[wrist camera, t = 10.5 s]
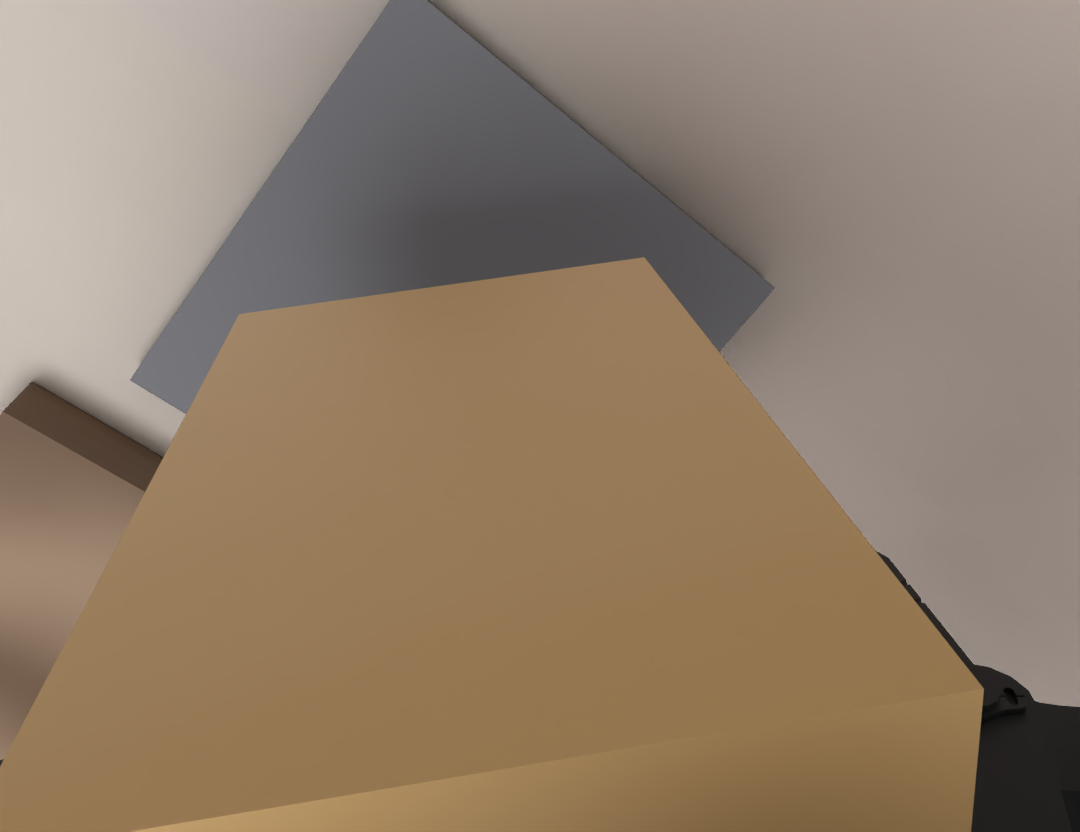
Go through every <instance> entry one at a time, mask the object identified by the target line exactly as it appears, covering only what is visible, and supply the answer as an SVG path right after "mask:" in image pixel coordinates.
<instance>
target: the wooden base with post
mask: <svg viewBox="0 0 1080 832" xmlns="http://www.w3.org/2000/svg"><path fill="white" fill-rule="evenodd" d="M162 459H163V458H162V457H160V456H159V455H157V454H155V453H154V452H152V451H150V450H148V449H147V448H145V447H143V446H141V445H140V444H138V443H136V442H135V441H133V440H131V439H129V438H128V437H126V436H124V435H123V434H121V433H119V432H117V431H116V430H114V429H112V428H110V427H109V426H107V425H105V424H104V423H102V422H100V421H98V420H97V419H95V418H93V417H92V416H90V415H88V414H86V413H85V412H83V411H81V410H79V409H78V408H76V407H74V406H73V405H71V404H69V403H67V402H66V401H64V400H62V399H61V398H59V397H57V396H55V395H54V394H52V393H50V392H48V391H47V390H45V389H43V388H42V387H40V386H38V385H36V384H35V383H33V382H31V383H30V384H29V385H28V386H27V387H26V388H25V389H24V390H23V391H22V392H21V393H20V394H19V395H18V397H17V398H16V399H15V400H14V401H13V402H12V403H11V404H10V405H9V406H8V407H7V408H6V409H5V410H4V411H3V412H2V414H1V415H0V760H3V759H4V758H5V757H6V755H7V753H8V751H9V749H10V747H11V745H12V743H13V741H14V739H15V738H16V736H17V734H18V732H19V730H20V728H21V726H22V724H23V722H24V721H25V719H26V717H27V715H28V713H29V711H30V709H31V707H32V705H33V703H34V702H35V700H36V698H37V696H38V694H39V692H40V690H41V688H42V686H43V685H44V683H45V681H46V679H47V677H48V675H49V673H50V671H51V669H52V668H53V666H54V664H55V662H56V660H57V658H58V656H59V654H60V652H61V650H62V649H63V647H64V645H65V643H66V641H67V639H68V637H69V635H70V633H71V632H72V630H73V628H74V626H75V624H76V622H77V620H78V618H79V616H80V614H81V613H82V611H83V609H84V607H85V605H86V603H87V601H88V599H89V597H90V596H91V594H92V592H93V590H94V588H95V586H96V584H97V582H98V580H99V579H100V577H101V575H102V573H103V571H104V569H105V567H106V565H107V563H108V561H109V560H110V558H111V556H112V554H113V552H114V550H115V548H116V546H117V544H118V543H119V541H120V539H121V537H122V535H123V533H124V531H125V529H126V527H127V525H128V524H129V522H130V520H131V518H132V516H133V514H134V512H135V510H136V508H137V507H138V505H139V503H140V501H141V499H142V497H143V495H144V493H145V491H146V490H147V488H148V486H149V484H150V482H151V480H152V478H153V476H154V474H155V472H156V471H157V469H158V467H159V465H160V463H161V461H162Z"/></svg>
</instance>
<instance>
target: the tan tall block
mask: <svg viewBox="0 0 1080 832" xmlns="http://www.w3.org/2000/svg"><path fill="white" fill-rule="evenodd" d="M983 695H984V688H983V687H982V686H981V684H980V683H979V682H978V681H977V679H976V678H975V677H974V675H973V674H972V673H971V672H970V670H969V669H968V668H967V667H966V665H965V664H964V663H963V662H962V660H961V659H960V658H959V656H958V655H957V654H956V653H955V651H954V650H953V649H952V648H951V646H950V645H949V644H948V642H947V641H946V640H945V639H944V637H943V636H942V635H941V634H940V632H939V631H938V630H937V628H936V627H935V626H934V625H933V623H932V622H931V621H930V620H929V618H928V617H927V616H926V615H925V613H924V612H923V611H922V609H921V608H920V607H919V606H918V604H917V603H916V602H915V601H914V599H913V598H912V597H911V595H910V594H909V593H908V592H907V590H906V589H905V588H904V587H903V585H902V584H901V583H900V581H899V580H898V579H897V578H896V576H895V575H894V574H893V573H892V571H891V570H890V569H889V567H888V566H887V565H886V564H885V562H884V561H883V560H882V559H881V557H880V556H879V555H878V554H877V552H876V551H875V550H874V548H873V547H872V546H871V545H870V543H869V542H868V541H867V540H866V538H865V537H864V536H863V534H862V533H861V532H860V531H859V529H858V528H857V527H856V526H855V524H854V523H853V522H852V520H851V519H850V518H849V517H848V515H847V514H846V513H845V512H844V510H843V509H842V508H841V507H840V505H839V504H838V503H837V501H836V500H835V499H834V498H833V496H832V495H831V494H830V493H829V491H828V490H827V489H826V487H825V486H824V485H823V484H822V482H821V481H820V480H819V479H818V477H817V476H816V475H815V473H814V472H813V471H812V470H811V468H810V467H809V466H808V465H807V463H806V462H805V461H804V459H803V458H802V457H801V456H800V454H799V453H798V452H797V451H796V449H795V448H794V447H793V446H792V444H791V443H790V442H789V440H788V439H787V438H786V437H785V435H784V434H783V433H782V432H781V430H780V429H779V428H778V426H777V425H776V424H775V423H774V421H773V420H772V419H771V418H770V416H769V415H768V414H767V412H766V411H765V410H764V409H763V407H762V406H761V405H760V404H759V402H758V401H757V400H756V399H755V397H754V396H753V395H752V393H751V392H750V391H749V390H748V388H747V387H746V386H745V385H744V383H743V382H742V381H741V379H740V378H739V377H738V376H737V374H736V373H735V372H734V371H733V369H732V368H731V367H730V365H729V364H728V363H727V362H726V360H725V359H724V358H723V357H722V355H721V354H720V353H719V351H718V350H717V349H716V348H715V346H714V345H713V344H712V343H711V341H710V340H709V339H708V338H707V336H706V335H705V334H704V332H703V331H702V330H701V329H700V327H699V326H698V325H697V324H696V322H695V321H694V320H693V318H692V317H691V316H690V315H689V313H688V312H687V311H686V310H685V308H684V307H683V306H682V304H681V303H680V302H679V301H678V299H677V298H676V297H675V296H674V294H673V293H672V292H671V291H670V289H669V288H668V287H667V285H666V284H665V283H664V282H663V280H662V279H661V278H660V277H659V275H658V274H657V273H656V271H655V270H654V269H653V268H652V266H651V265H650V264H649V263H648V261H647V260H646V259H645V257H643V258H636V259H628V260H621V261H614V262H607V263H600V264H593V265H586V266H579V267H571V268H564V269H557V270H550V271H543V272H536V273H529V274H522V275H514V276H507V277H500V278H493V279H486V280H479V281H472V282H465V283H457V284H450V285H443V286H436V287H429V288H422V289H415V290H408V291H400V292H393V293H386V294H379V295H372V296H365V297H358V298H351V299H344V300H336V301H329V302H322V303H315V304H308V305H301V306H294V307H287V308H279V309H272V310H265V311H258V312H251V313H244V314H239V315H238V317H237V319H236V321H235V323H234V325H233V327H232V329H231V330H230V332H229V334H228V336H227V338H226V340H225V342H224V344H223V346H222V348H221V349H220V351H219V353H218V355H217V357H216V359H215V361H214V363H213V365H212V366H211V368H210V370H209V372H208V374H207V376H206V378H205V380H204V382H203V383H202V385H201V387H200V389H199V391H198V393H197V395H196V397H195V399H194V401H193V402H192V404H191V406H190V408H189V410H188V412H187V414H186V416H185V418H184V419H183V421H182V423H181V425H180V427H179V429H178V431H177V433H176V435H175V437H174V438H173V440H172V442H171V444H170V446H169V448H168V450H167V452H166V454H165V455H164V457H163V459H162V461H161V463H160V465H159V467H158V469H157V471H156V472H155V474H154V476H153V478H152V480H151V482H150V484H149V486H148V488H147V490H146V491H145V493H144V495H143V497H142V499H141V501H140V503H139V505H138V507H137V508H136V510H135V512H134V514H133V516H132V518H131V520H130V522H129V524H128V525H127V527H126V529H125V531H124V533H123V535H122V537H121V539H120V541H119V543H118V544H117V546H116V548H115V550H114V552H113V554H112V556H111V558H110V560H109V561H108V563H107V565H106V567H105V569H104V571H103V573H102V575H101V577H100V579H99V580H98V582H97V584H96V586H95V588H94V590H93V592H92V594H91V596H90V597H89V599H88V601H87V603H86V605H85V607H84V609H83V611H82V613H81V614H80V616H79V618H78V620H77V622H76V624H75V626H74V628H73V630H72V632H71V633H70V635H69V637H68V639H67V641H66V643H65V645H64V647H63V649H62V650H61V652H60V654H59V656H58V658H57V660H56V662H55V664H54V666H53V668H52V669H51V671H50V673H49V675H48V677H47V679H46V681H45V683H44V685H43V686H42V688H41V690H40V692H39V694H38V696H37V698H36V700H35V702H34V703H33V705H32V707H31V709H30V711H29V713H28V715H27V717H26V719H25V721H24V722H23V724H22V726H21V728H20V730H19V732H18V734H17V736H16V738H15V739H14V741H13V743H12V745H11V747H10V749H9V751H8V753H7V755H6V757H5V758H4V760H3V762H2V764H1V766H0V832H971V826H972V815H973V804H974V793H975V782H976V771H977V760H978V750H979V739H980V728H981V717H982V706H983Z"/></svg>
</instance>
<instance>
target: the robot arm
mask: <svg viewBox="0 0 1080 832" xmlns="http://www.w3.org/2000/svg"><path fill="white" fill-rule="evenodd" d="M876 552H877V551H876ZM877 554H878V555H879V556H880V557H881V559H882V560H883V561H884V562H885V564H886V565H887V566H888V567H889V569H890V570H891V571H892V573H893V574H894V575H895V576H896V578H897V579H898V580H899V581H900V583H901V584H902V585H903V587H904V588H905V589H906V590H907V592H908V593H909V594H910V595H911V597H912V598H913V599H914V601H915V602H916V603H917V604H918V606H919V607H920V608H921V609H922V611H923V612H924V613H925V615H926V616H927V617H928V618H929V620H930V621H931V622H932V623H933V625H934V626H935V627H936V628H937V630H938V631H939V632H940V634H941V635H942V636H943V637H944V639H945V640H946V641H947V642H948V644H949V645H950V646H951V648H952V649H953V650H954V651H955V653H956V654H957V655H958V656H959V658H960V659H961V660H962V662H963V663H964V664H965V665H966V667H967V668H968V669H969V670H970V672H971V673H972V674H973V675H974V677H975V678H976V679H977V681H978V682H979V683H980V684H981V686H982V687H983V688H984V695H983V706H982V717H981V728H980V739H979V750H978V760H977V771H976V782H975V793H974V804H973V815H972V826H971V832H1080V707H1071V706H1059V705H1052V704H1045V703H1039V702H1036V701H1034V699H1033V698H1032V696H1031V694H1030V693H1029V691H1028V690H1027V689H1026V688H1025V687H1023V686H1022V685H1021V684H1019V683H1018V682H1017V681H1016V680H1014V679H1013V678H1012V677H1010V676H1008V675H1006V674H1003V673H1001V672H999V671H996V670H994V669H992V668H989V667H984V666H979V665H974V664H973V663H972V662H971V661H970V659H969V658H968V657H967V656H966V654H965V653H964V652H963V651H962V649H961V648H960V647H959V646H958V644H957V643H956V642H955V641H954V639H953V638H952V637H951V636H950V634H949V633H948V632H947V631H946V629H945V628H944V627H943V626H942V624H941V623H940V622H939V621H938V619H937V618H936V617H935V616H934V614H933V613H932V612H931V611H930V609H929V608H928V607H927V606H926V604H925V603H921V598H920V597H919V596H918V594H917V593H916V592H915V591H914V589H913V588H912V587H911V586H910V585H907V583H906V579H905V578H904V577H903V576H902V574H901V573H900V572H899V571H898V569H897V568H896V567H895V566H894V564H893V563H892V562H891V561H890V559H889V558H887V557H886V556H884V555H882V554H881V553H879V552H877ZM3 760H4V759H3ZM3 760H0V766H1V764H2V762H3Z"/></svg>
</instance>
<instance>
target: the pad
mask: <svg viewBox="0 0 1080 832" xmlns="http://www.w3.org/2000/svg"><path fill="white" fill-rule="evenodd" d="M643 257H645V259H646V260H647V261H648V263H649V264H650V265H651V266H652V268H653V269H654V270H655V271H656V273H657V274H658V275H659V277H660V278H661V279H662V280H663V282H664V283H665V284H666V285H667V287H668V288H669V289H670V291H671V292H672V293H673V294H674V296H675V297H676V298H677V299H678V301H679V302H680V303H681V304H682V306H683V307H684V308H685V310H686V311H687V312H688V313H689V315H690V316H691V317H692V318H693V320H694V321H695V322H696V324H697V325H698V326H699V327H700V329H701V330H702V331H703V332H704V334H705V335H706V336H707V338H708V339H709V340H710V341H711V343H712V344H713V345H714V346H715V348H716V349H717V350H718V351H720V350H721V349H722V348H723V347H724V345H725V344H726V343H727V342H728V341H729V340H730V339H731V337H732V336H733V335H734V334H735V333H736V332H737V331H738V329H739V328H740V327H741V326H742V325H743V324H744V323H745V321H746V320H747V319H748V318H749V317H750V316H751V315H752V313H753V312H754V311H755V310H756V309H757V308H758V307H759V305H760V304H761V303H762V302H763V301H764V300H765V299H766V297H767V296H768V295H769V294H770V293H771V292H772V290H773V289H774V287H773V286H772V285H771V284H770V283H769V282H767V281H766V280H765V279H764V278H763V277H762V276H760V275H759V274H758V273H757V272H756V271H754V270H753V269H752V268H751V267H750V266H748V265H747V264H746V263H745V262H743V261H742V260H741V259H740V258H739V257H737V256H736V255H735V254H734V253H733V252H731V251H730V250H729V249H728V248H727V247H725V246H724V245H723V244H722V243H720V242H719V241H718V240H717V239H716V238H714V237H713V236H712V235H711V234H710V233H708V232H707V231H706V230H705V229H704V228H702V227H701V226H700V225H699V224H697V223H696V222H695V221H694V220H693V219H691V218H690V217H689V216H688V215H687V214H685V213H684V212H683V211H682V210H681V209H679V208H678V207H677V206H676V205H675V204H673V203H672V202H671V201H670V200H668V199H667V198H666V197H665V196H664V195H662V194H661V193H660V192H659V191H658V190H656V189H655V188H654V187H653V186H652V185H650V184H649V183H648V182H647V181H645V180H644V179H643V178H642V177H641V176H639V175H638V174H637V173H636V172H635V171H633V170H632V169H631V168H630V167H629V166H627V165H626V164H625V163H624V162H622V161H621V160H620V159H619V158H618V157H616V156H615V155H614V154H613V153H612V152H610V151H609V150H608V149H607V148H606V147H604V146H603V145H602V144H601V143H599V142H598V141H597V140H596V139H595V138H593V137H592V136H591V135H590V134H589V133H587V132H586V131H585V130H584V129H583V128H581V127H580V126H579V125H578V124H577V123H575V122H574V121H573V120H572V119H570V118H569V117H568V116H567V115H566V114H564V113H563V112H562V111H561V110H560V109H558V108H557V107H556V106H555V105H554V104H552V103H551V102H550V101H549V100H547V99H546V98H545V97H544V96H543V95H541V94H540V93H539V92H538V91H537V90H535V89H534V88H533V87H532V86H531V85H529V84H528V83H527V82H526V81H524V80H523V79H522V78H521V77H520V76H518V75H517V74H516V73H515V72H514V71H512V70H511V69H510V68H509V67H508V66H506V65H505V64H504V63H503V62H501V61H500V60H499V59H498V58H497V57H495V56H494V55H493V54H492V53H491V52H489V51H488V50H487V49H486V48H485V47H483V46H482V45H481V44H480V43H479V42H477V41H476V40H475V39H474V38H472V37H471V36H470V35H469V34H468V33H466V32H465V31H464V30H463V29H462V28H460V27H459V26H458V25H457V24H456V23H454V22H453V21H452V20H451V19H449V18H448V17H447V16H446V15H445V14H443V13H442V12H441V11H440V10H439V9H437V8H436V7H435V6H434V5H433V4H431V3H430V2H429V1H428V0H390V2H389V3H388V5H387V6H386V8H385V9H384V11H383V12H382V14H381V15H380V16H379V18H378V19H377V21H376V22H375V24H374V25H373V27H372V28H371V30H370V31H369V32H368V34H367V35H366V37H365V38H364V40H363V41H362V43H361V44H360V46H359V47H358V48H357V50H356V51H355V53H354V54H353V56H352V57H351V59H350V60H349V62H348V63H347V65H346V66H345V67H344V69H343V70H342V72H341V73H340V75H339V76H338V78H337V79H336V81H335V82H334V83H333V85H332V86H331V88H330V89H329V91H328V92H327V94H326V95H325V97H324V98H323V99H322V101H321V102H320V104H319V105H318V107H317V108H316V110H315V111H314V113H313V114H312V115H311V117H310V118H309V120H308V121H307V123H306V124H305V126H304V127H303V129H302V130H301V132H300V133H299V134H298V136H297V137H296V139H295V140H294V142H293V143H292V145H291V146H290V148H289V149H288V150H287V152H286V153H285V155H284V156H283V158H282V159H281V161H280V162H279V164H278V165H277V166H276V168H275V169H274V171H273V172H272V174H271V175H270V177H269V178H268V180H267V181H266V183H265V184H264V185H263V187H262V188H261V190H260V191H259V193H258V194H257V196H256V197H255V199H254V200H253V201H252V203H251V204H250V206H249V207H248V209H247V210H246V212H245V213H244V215H243V216H242V217H241V219H240V220H239V222H238V223H237V225H236V226H235V228H234V229H233V231H232V232H231V234H230V235H229V236H228V238H227V239H226V241H225V242H224V244H223V245H222V247H221V248H220V250H219V251H218V252H217V254H216V255H215V257H214V258H213V260H212V261H211V263H210V264H209V266H208V267H207V268H206V270H205V271H204V273H203V274H202V276H201V277H200V279H199V280H198V282H197V283H196V285H195V286H194V287H193V289H192V290H191V292H190V293H189V295H188V296H187V298H186V299H185V301H184V302H183V303H182V305H181V306H180V308H179V309H178V311H177V312H176V314H175V315H174V317H173V318H172V319H171V321H170V322H169V324H168V325H167V327H166V328H165V330H164V331H163V333H162V334H161V336H160V337H159V338H158V340H157V341H156V343H155V344H154V346H153V347H152V349H151V350H150V352H149V353H148V354H147V356H146V357H145V359H144V360H143V362H142V363H141V365H140V366H139V368H138V369H137V370H136V372H135V373H134V375H133V376H132V378H131V379H130V380H131V381H132V382H134V383H135V384H137V385H139V386H140V387H142V388H144V389H145V390H147V391H149V392H150V393H152V394H154V395H155V396H157V397H159V398H160V399H162V400H164V401H165V402H167V403H169V404H170V405H172V406H174V407H175V408H177V409H179V410H180V411H182V412H184V413H185V414H187V412H188V410H189V408H190V406H191V404H192V402H193V401H194V399H195V397H196V395H197V393H198V391H199V389H200V387H201V385H202V383H203V382H204V380H205V378H206V376H207V374H208V372H209V370H210V368H211V366H212V365H213V363H214V361H215V359H216V357H217V355H218V353H219V351H220V349H221V348H222V346H223V344H224V342H225V340H226V338H227V336H228V334H229V332H230V330H231V329H232V327H233V325H234V323H235V321H236V319H237V317H238V315H239V314H244V313H251V312H258V311H265V310H272V309H279V308H287V307H294V306H301V305H308V304H315V303H322V302H329V301H336V300H344V299H351V298H358V297H365V296H372V295H379V294H386V293H393V292H400V291H408V290H415V289H422V288H429V287H436V286H443V285H450V284H457V283H465V282H472V281H479V280H486V279H493V278H500V277H507V276H514V275H522V274H529V273H536V272H543V271H550V270H557V269H564V268H571V267H579V266H586V265H593V264H600V263H607V262H614V261H621V260H628V259H636V258H643Z"/></svg>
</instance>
